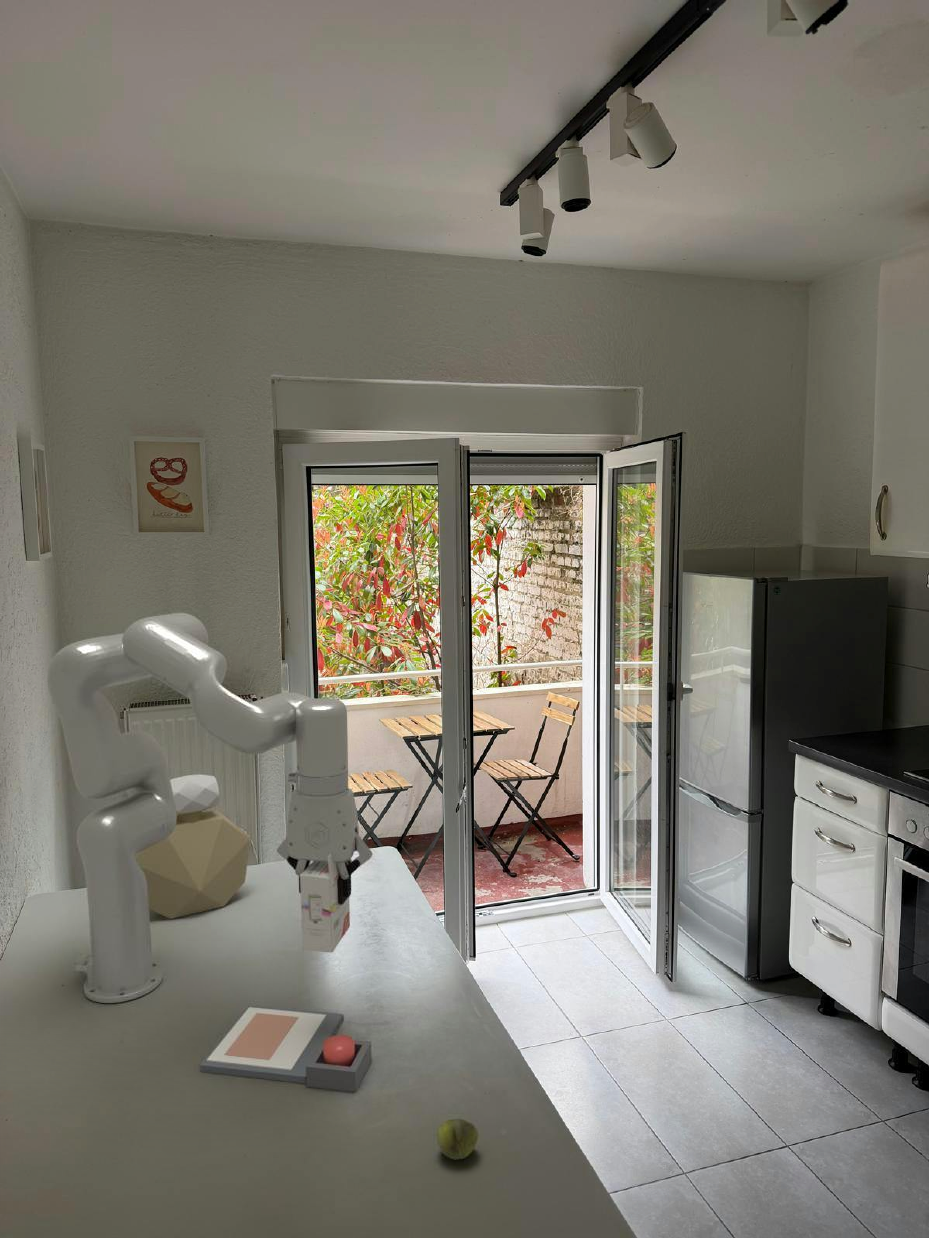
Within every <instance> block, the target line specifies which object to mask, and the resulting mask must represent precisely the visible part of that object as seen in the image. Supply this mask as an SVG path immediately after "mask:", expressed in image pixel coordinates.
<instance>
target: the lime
mask: <svg viewBox="0 0 929 1238" xmlns="http://www.w3.org/2000/svg"><path fill="white" fill-rule="evenodd" d="M436 1133H437V1134H436V1139H437V1144H438V1146H439V1148H440V1150H441V1152H442V1154H443V1155H444V1156H445V1157H447V1158H449V1159H450V1160H456V1161H457V1160H463V1159H465V1158H467V1157H468V1156H470V1154H471V1153H472V1152H473V1151H474V1149H475V1147H476V1145H477V1142H478V1138H479V1131H478V1129H477V1128H476V1126H475V1125H474V1124H473V1123H471V1122H469V1121H467V1120H465V1119H461V1118H454V1119H453V1118H452V1119H448V1120H447V1121H446V1122H444V1123H443V1124H441V1125H440V1126H439V1128H438V1130H437V1132H436Z"/></svg>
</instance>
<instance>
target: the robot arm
mask: <svg viewBox="0 0 929 1238" xmlns="http://www.w3.org/2000/svg"><path fill="white" fill-rule="evenodd" d="M50 661H51V662H50V664H49V667H48V671H47V687H48V691H49V695H50V697H51V700H52V703H53V705H54V708H55V710H56V711H57V715H58V717H59V720H60V723H61V726H62V730H63V731H62V732H63V738H64V741H65V746H66V751H67V755H68V759H69V764H70V769H71V773H72V776H73V780H74V784H75V788H76V789H77V791H78V792H79V794H80V795H81V796H82V797H83V798H85V799H88V800H92V801H93V800H103V799H105V798H108V797H112V796H114V795H117V794H120V793H123V792H125V791H126V793H127V796H128V797H125V798H122V799H119V800H116V801H115V802H111V803H109V804H106V805H104V806H102V807H99V808H97V809H95V810H94V811H92V812H91V813H89V814H88V815H87V816H85V818H83V819H82V821H81V822H80V824H79V826H78V828H77V832H76V844H77V848H78V853H79V856H80V859H81V861H82V866H83V869H84V875H85V876H84V877H85V884H86V894H87V906H88V908H87V909H88V920H89V935H90V950H91V955H89V954H88V955H87V954H79V955H78V956H77V958H76V961H75V963H76V964H75V965H74V968H73V971H74V973H76V974H85V975H86V976H87V979H86V980H85V982H84V984H83V993H84V995H85V997H86V998H87V999H89V1000H91V1001H93V1002H97V1003H100V1004H117V1003H122V1002H127V1001H131V1000H134V999H137V998H140V997H143V996H145V995H147V994H148V993H150V992H152V991H153V990H154V989H156V988H157V987H158V986H159V985H160V983H161V982H162V980H163V978H164V977H163V975H164V973H163V968H162V967H161V965H160V964H158V963H156V962H154V961H153V951H152V935H151V920H150V919H151V918H150V909H149V900H148V885H147V879H146V875H145V873H144V871H143V870H142V868H141V867H140V866H139V864H138V863H137V861H136V858H135V856H136V854H138V853H140V852H141V851H143V850H145V849H147V848H149V847H151V846H153V845H155V844H157V843H159V842H161V841H163V840H164V839H166V838H167V837H168V836H170V834H171V833H172V832H173V830H174V828H175V825H176V820H177V813H176V806H175V801H174V796H173V791H172V787H171V782H170V780H171V777H170V773H169V769H168V765H167V764H168V763H167V760H166V756H165V753H164V750H163V749H162V747H161V745H160V744H159V742H158V740H157V739H155V738H154V737H153V736H152V735H151V734H150V733H147V732H146V731H142V730H132V731H128V732H127V731H126V732H124V733H123V732H122V733H121V730H120V727H119V722H118V716H117V714H116V711H115V708H114V707H113V706H112V704H111V702H110V701H109V700H108V699H107V698H106V697H105V695H103V693H101V692H100V691H101V690H103V689H106V688H110V687H115V686H120V685H124V684H128V683H129V684H130V683H133V682H137V681H142V680H144V679H145V680H146V679H148V678H151V677H153V678H154V679H156V680H159V681H160V682H161V683H162V684H165V685H166V686H168V687H169V688H172V689H173V690H175V691H176V692H177V693H179V694H181V695H182V696H184V697H186V698H187V699H188V700H189V702H190V706H191V710H192V712H193V714H194V716H195V718H196V719H197V721H198V722H199V724H200V726H201V727H202V728H203V729H204V730H205V731H206V732H207V733H209V734H210V735H211V736H213V737H214V738H216V739H218V740H219V741H220V742H222V743H224V744H226V745H227V746H229V747H231V748H232V749H233V750H234V749H235V750H237V751H239V752H242V753H244V754H249V755H260V754H264V753H266V752H268V751H271V750H273V749H276V748H278V747H280V746H284V745H287V744H290V743H293V742H295V744H296V749H295V750H296V771H295V772H293V773H292V772H290V773H289V774H288V783H289V782H290V783H291V782H292V783H293V784H295V790H293V791H292V792H291V795H290V800H289V808H288V818H287V830H286V838H285V839H283V840H282V842H281V843H280V845H279V846H278V847H277V848H276V852H277V854H278V855H280V856H281V857H282V858H283V859H284V860H286V862H287V863H288V864H289V866H291V868H292V869H293V870H294V872H295V874H296V875H297V876H298V893H299V894H301V886H300V875H301V874H302V873H303V872H304V871H305V870H306V868H307V867H308V866H309V865H310V864H311V863H312V862H313V861H323V862H328V856H329V855H330V854H331V855H332V861H333V862H337V865H338V869H339V872H340V877H339V878H338V880H337V885H338V903H339V904H340V905H343V904H344V902H345V901H346V900H347V898H348V897H349V898H350V897H351V895H352V875H353V873H355V872H356V871H357V870H358V868H361V866H362V865H364V864H365V863H366V862H368V861H369V860H371V858H372V857H373V851H372V850H371V849H370V848H369V846H368V845H367V844H366V843H365V841H364V840H363V839H362V837H361V835H360V829H359V827H360V826H359V820H358V819H359V817H358V811H357V804H356V800H355V796H354V791H353V789H352V788H349V758H348V757H349V756H348V755H349V749H348V748H349V745H348V743H349V742H348V740H349V739H348V737H349V736H348V734H349V733H348V710H347V707H346V705H345V703H344V702H343V701H341V700H339V699H335V698H329V697H328V698H324V697H323V698H318V697H317V698H314V697H310V696H307V695H305V694H301V693H298V692H293V691H292V692H290V691H287V692H281V693H278V694H274V695H270V696H267V697H264V698H261V699H258V700H255V701H251V702H250V701H247V700H245V699H243V698H241V697H239V696H238V695H236V694H234V693H233V692H231V691H230V690H228V689H227V688H225V687H224V686H223V685H222V684H223V682H224V680H225V677H226V674H227V669H228V664H227V659H226V657H225V655H223V654H222V653H221V652H220V651H218V650H216V649H214V648H213V647H211V646H209V635H208V630H207V628H206V627H205V625H204V624H203V623H202V621H201V620H200V619H199V618H197V617H196V616H194V615H192V614H190V613H186V612H174V613H168V614H160V615H153V616H148V617H143V618H141V619H138V620H136V621H134V622H133V623H132V624H130V625H129V626H128V627H127V628H126V629H125V631H124V632H123V633H117V634H112V635H102V636H96V637H91V638H86V639H83V640H78V641H75V642H72V643H70V644H68V645H66V646H64V647H62V648H60V650H58V652H56V654H55V655H54V656H53V658H52V659H51V660H50ZM354 852H357V853H358V856H356V857H355V858H354V859H353V860H352V857H353V856H354Z"/></svg>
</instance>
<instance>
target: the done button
mask: <svg viewBox="0 0 929 1238" xmlns="http://www.w3.org/2000/svg"><path fill="white" fill-rule="evenodd" d="M354 1040H355V1039H354V1038H353V1037H352V1036H350V1035H346V1034H335V1035H334V1036H332V1037H330V1038H328V1039H327V1040H326V1041H325V1042H324V1044H323V1054H324V1064H330V1065H339V1066H348V1067H351V1065H352V1063H353V1062H354V1060H355V1043H354Z"/></svg>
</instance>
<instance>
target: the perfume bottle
mask: <svg viewBox="0 0 929 1238" xmlns="http://www.w3.org/2000/svg"><path fill="white" fill-rule="evenodd" d="M170 782H171V787H172V791H173V796H174V801H175V806H176V813H177V820H176V825H175V828H174V830H173V832H172V833H171V834H170V836H168V837H167V838H166V839H164V840H163V841H161V842H159V843H157V844H155V845H153V846H151V847H149V848H147V849H145V850H143V851H141V852H140V853H138V854H136V856H135V858H136V861H137V863H138V864H139V866H140V867H141V868H142V870H143V871H144V873H145V875H146V879H147V885H148V900H149V910H150V911H153V912H155V913H157V914H159V915H160V916H163V917H165V918H167V919H169V920H173V919H176V918H177V917H178V918H181V916H182V917H185V916H191V915H194V914H198V913H202V912H207V911H210V910H214V909H218V908H223V907H225V906H226V905H227V904H228V902H229V901H230V900H232V898H233V897H234V895H235V894H236V893H237V892H238V890H240V888H241V887H242V886H243V884H244V883H246V875H247V870H248V869H247V868H248V860H249V855H250V853H249V852H250V848H251V847H250V846H251V839H252V838H251V836H250V835H249V834H248V833H246V832H245V831H244V830H243V829H241V828H240V827H238V826H237V825H236V824H235V823H234V822H232V821H231V820H230V819H228V818H227V817H226V816H225V815H224V814H222V813H221V812H220V811H218V810H217V809H212V808H214V807H217V806H218V805H219V802H220V790H219V785H218V781H217V778H216V776H213V775H208V774H201V773H200V774H190V775H183V776H179V777H175V778H172V779H171V778H170ZM210 809H211V810H210ZM178 918H177V919H178Z"/></svg>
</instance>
